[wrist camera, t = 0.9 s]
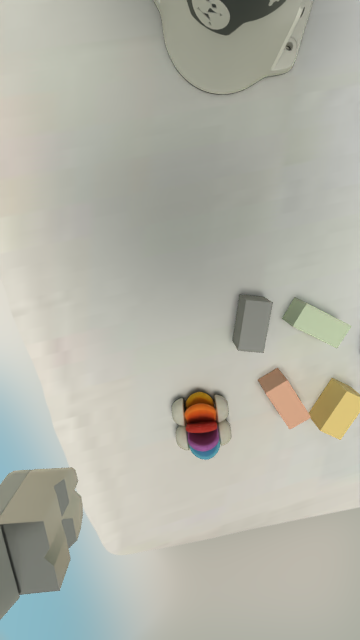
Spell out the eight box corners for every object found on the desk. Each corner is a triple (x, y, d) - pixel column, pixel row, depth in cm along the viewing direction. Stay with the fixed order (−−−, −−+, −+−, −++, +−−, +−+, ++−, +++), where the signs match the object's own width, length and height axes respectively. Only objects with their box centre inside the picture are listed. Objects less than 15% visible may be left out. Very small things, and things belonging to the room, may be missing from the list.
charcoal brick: (239, 294, 44) (246, 299, 40) (263, 296, 44) (272, 302, 40) (232, 340, 46) (238, 350, 42) (255, 342, 46) (263, 352, 42)
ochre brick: (331, 377, 48) (346, 391, 43) (350, 386, 48) (367, 401, 44) (307, 414, 49) (320, 430, 45) (326, 422, 49) (340, 439, 45)
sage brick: (281, 318, 45) (292, 326, 41) (294, 297, 44) (306, 303, 40) (321, 338, 46) (336, 348, 42) (334, 318, 45) (351, 326, 41)
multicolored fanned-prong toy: (224, 384, 48) (232, 408, 41) (230, 438, 50) (238, 470, 43) (170, 390, 48) (168, 416, 41) (178, 444, 50) (178, 477, 43)
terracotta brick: (257, 379, 48) (265, 393, 43) (277, 367, 47) (287, 380, 43) (279, 412, 49) (289, 429, 45) (299, 401, 49) (311, 417, 44)
